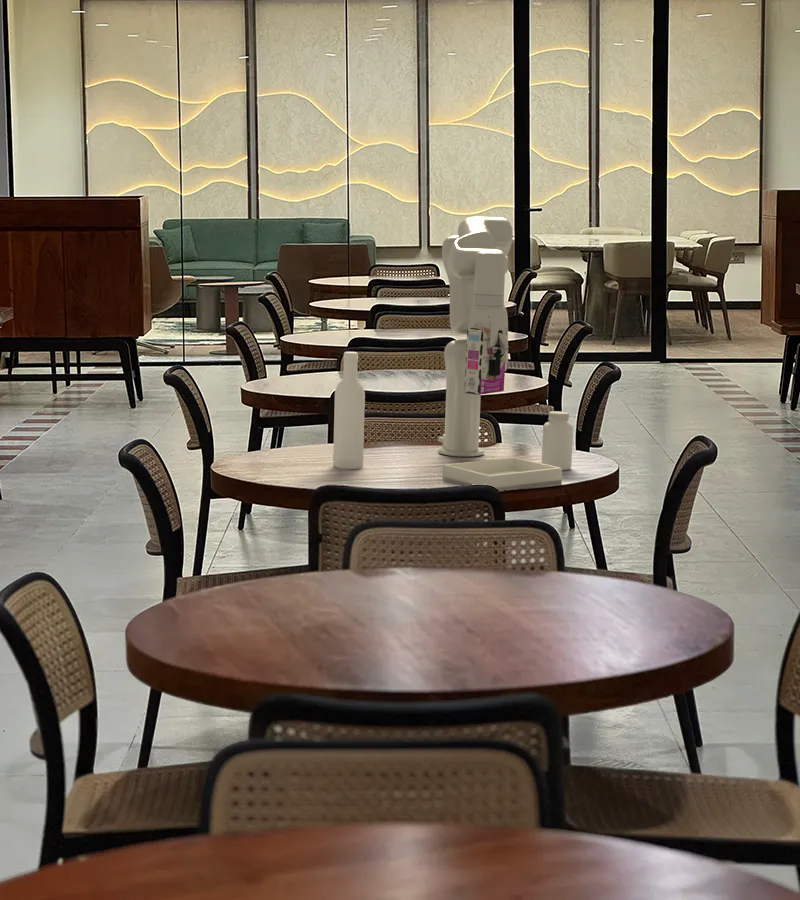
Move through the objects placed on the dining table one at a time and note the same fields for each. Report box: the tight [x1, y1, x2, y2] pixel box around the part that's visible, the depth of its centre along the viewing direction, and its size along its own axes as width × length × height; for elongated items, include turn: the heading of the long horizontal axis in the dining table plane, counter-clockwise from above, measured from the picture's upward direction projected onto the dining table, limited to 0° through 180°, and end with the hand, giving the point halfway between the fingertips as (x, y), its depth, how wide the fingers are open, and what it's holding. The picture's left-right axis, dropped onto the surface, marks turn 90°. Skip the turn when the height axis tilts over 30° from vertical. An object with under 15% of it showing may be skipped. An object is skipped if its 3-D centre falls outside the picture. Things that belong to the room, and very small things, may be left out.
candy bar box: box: [464, 327, 507, 395], centre depth 391 cm, size 11×5×16 cm, turn 142°
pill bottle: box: [541, 410, 574, 471], centre depth 417 cm, size 8×8×15 cm
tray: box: [442, 456, 563, 492], centre depth 396 cm, size 18×24×4 cm
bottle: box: [332, 351, 366, 470], centre depth 408 cm, size 8×8×30 cm
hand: (485, 373), depth 392 cm, fingers closed on candy bar box, 6 cm apart
